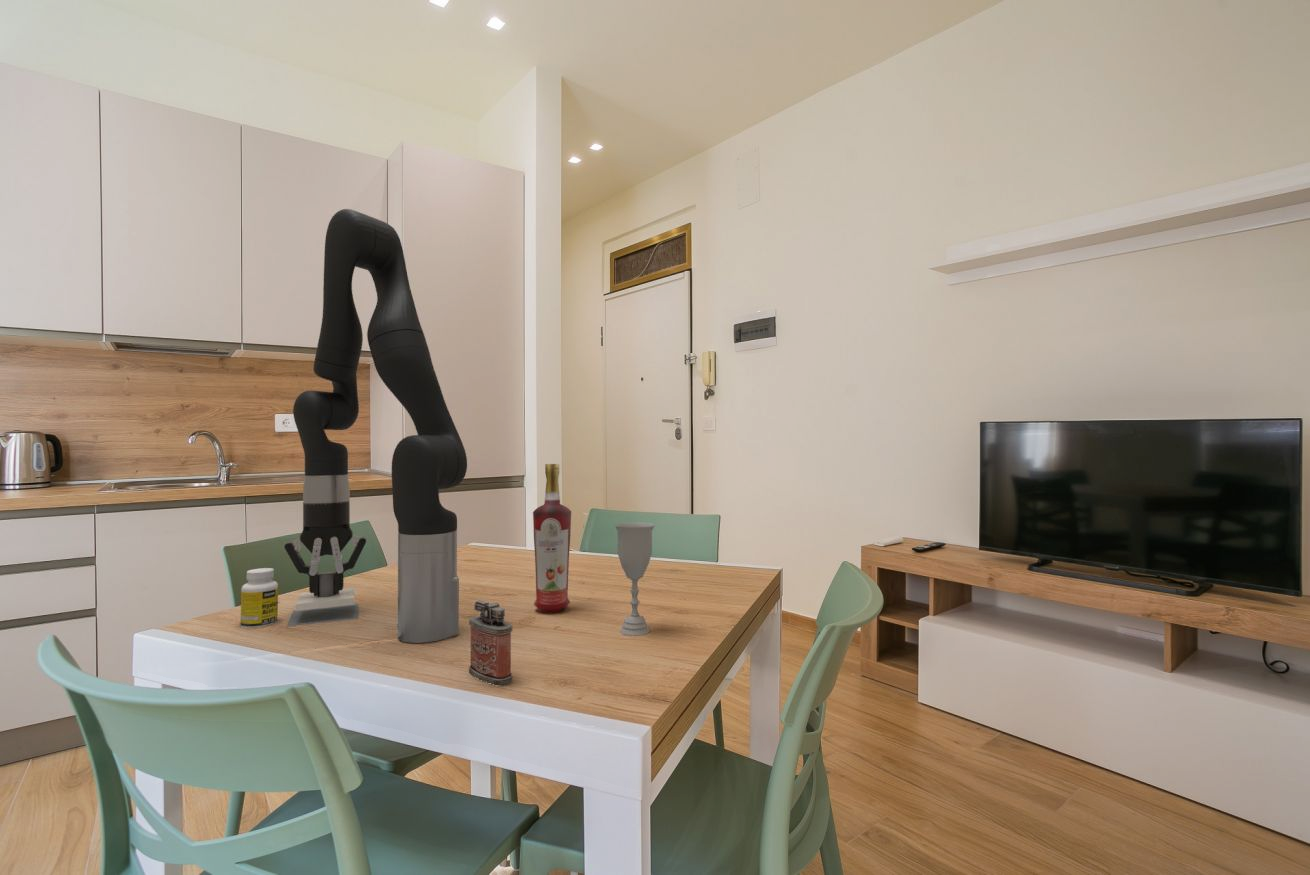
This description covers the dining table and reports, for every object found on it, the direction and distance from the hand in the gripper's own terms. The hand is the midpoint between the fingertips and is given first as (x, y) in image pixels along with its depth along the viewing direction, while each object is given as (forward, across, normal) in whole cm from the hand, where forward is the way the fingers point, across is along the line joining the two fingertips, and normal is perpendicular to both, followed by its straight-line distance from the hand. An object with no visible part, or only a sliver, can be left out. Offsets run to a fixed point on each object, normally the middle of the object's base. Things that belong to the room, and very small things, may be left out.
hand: (326, 593), depth 110 cm
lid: (+2, 0, 0) cm, 2 cm away
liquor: (+5, +39, -13) cm, 41 cm away
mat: (+4, 0, 0) cm, 4 cm away
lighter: (+5, +22, -42) cm, 47 cm away
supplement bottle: (+5, -10, -1) cm, 11 cm away
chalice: (+5, +48, -32) cm, 58 cm away
